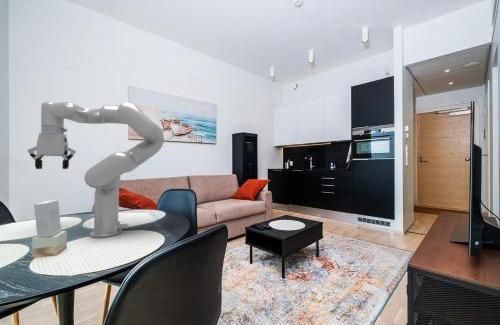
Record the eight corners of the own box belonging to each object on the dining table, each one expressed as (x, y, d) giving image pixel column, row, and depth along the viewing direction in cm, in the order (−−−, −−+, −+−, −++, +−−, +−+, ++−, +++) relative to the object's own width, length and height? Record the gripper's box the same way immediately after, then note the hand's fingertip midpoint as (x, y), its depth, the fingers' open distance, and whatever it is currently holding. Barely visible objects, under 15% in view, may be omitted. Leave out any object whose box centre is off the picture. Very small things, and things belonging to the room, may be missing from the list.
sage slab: (66, 239, 84) (66, 230, 84) (56, 246, 77) (56, 236, 77) (44, 241, 82) (44, 232, 82) (32, 248, 75) (32, 238, 75)
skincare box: (48, 232, 82) (45, 200, 81) (61, 231, 83) (58, 199, 82) (36, 238, 76) (33, 204, 75) (50, 236, 77) (47, 202, 76)
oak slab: (66, 248, 84) (66, 239, 84) (56, 256, 77) (56, 246, 77) (44, 250, 82) (44, 241, 82) (31, 258, 76) (32, 248, 76)
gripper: (79, 132, 104) (79, 168, 104) (34, 131, 99) (33, 168, 99) (71, 130, 96) (71, 169, 96) (22, 128, 91) (22, 169, 91)
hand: (52, 168), depth 97 cm, fingers open, 9 cm apart
